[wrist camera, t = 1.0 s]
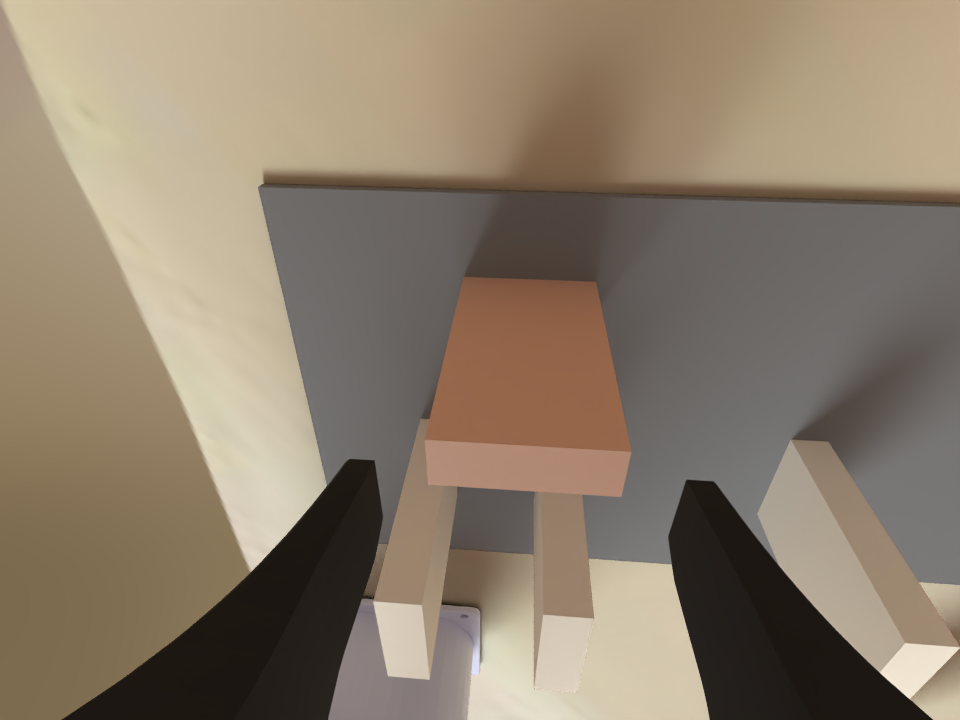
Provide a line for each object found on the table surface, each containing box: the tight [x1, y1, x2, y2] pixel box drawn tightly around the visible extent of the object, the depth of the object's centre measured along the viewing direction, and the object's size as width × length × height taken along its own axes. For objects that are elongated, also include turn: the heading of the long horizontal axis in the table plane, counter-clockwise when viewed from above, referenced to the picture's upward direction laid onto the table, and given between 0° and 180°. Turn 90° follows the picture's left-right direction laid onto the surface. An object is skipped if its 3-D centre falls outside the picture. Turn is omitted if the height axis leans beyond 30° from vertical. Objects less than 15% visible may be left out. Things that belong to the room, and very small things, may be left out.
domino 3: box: [534, 492, 594, 693], centre depth 22 cm, size 2×5×9 cm, turn 0°
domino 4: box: [757, 440, 960, 699], centre depth 22 cm, size 2×5×9 cm, turn 0°
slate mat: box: [258, 184, 960, 585], centre depth 24 cm, size 34×20×1 cm, turn 90°
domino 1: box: [373, 419, 457, 680], centre depth 23 cm, size 2×5×9 cm, turn 179°
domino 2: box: [425, 277, 631, 497], centre depth 17 cm, size 2×5×9 cm, turn 90°
